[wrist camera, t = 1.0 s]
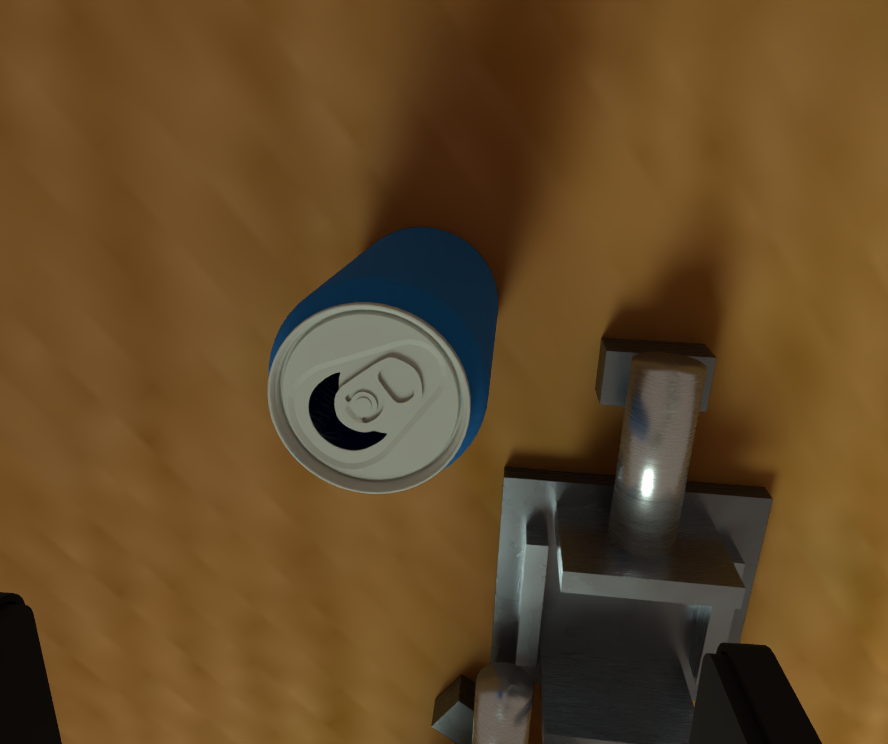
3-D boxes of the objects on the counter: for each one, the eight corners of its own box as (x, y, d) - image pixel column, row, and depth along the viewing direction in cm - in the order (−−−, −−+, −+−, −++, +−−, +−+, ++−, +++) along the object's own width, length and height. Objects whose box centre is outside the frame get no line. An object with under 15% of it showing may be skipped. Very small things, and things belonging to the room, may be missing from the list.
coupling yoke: (448, 326, 29) (432, 372, 24) (797, 347, 28) (866, 401, 23) (434, 733, 38) (419, 837, 32) (701, 763, 37) (735, 878, 31)
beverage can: (324, 278, 29) (204, 370, 18) (442, 193, 28) (391, 237, 16) (409, 393, 31) (347, 543, 20) (527, 318, 29) (533, 437, 18)
